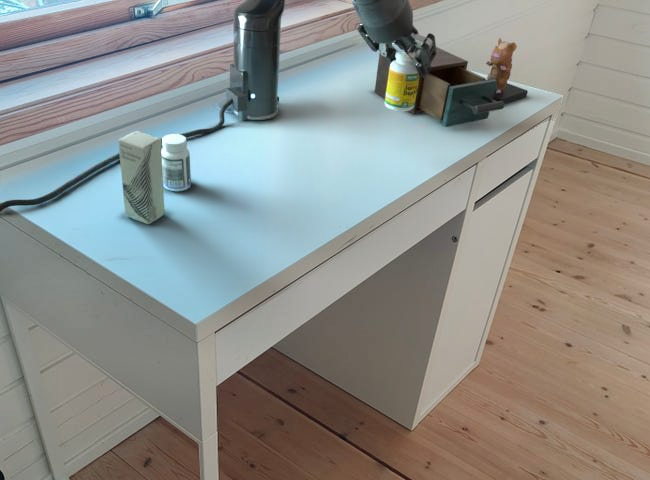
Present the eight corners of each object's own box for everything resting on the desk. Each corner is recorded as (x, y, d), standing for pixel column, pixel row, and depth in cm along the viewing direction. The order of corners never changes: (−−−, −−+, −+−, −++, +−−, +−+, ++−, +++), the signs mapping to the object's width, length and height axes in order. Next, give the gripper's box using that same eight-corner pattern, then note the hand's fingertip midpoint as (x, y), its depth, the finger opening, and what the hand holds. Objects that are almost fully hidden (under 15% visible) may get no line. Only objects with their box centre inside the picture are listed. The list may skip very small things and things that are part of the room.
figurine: (463, 92, 158) (475, 37, 150) (490, 84, 163) (503, 30, 155) (499, 106, 152) (513, 49, 144) (526, 97, 157) (541, 41, 149)
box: (124, 216, 109) (115, 138, 101) (141, 205, 112) (134, 129, 103) (150, 226, 107) (143, 147, 99) (167, 214, 110) (162, 137, 101)
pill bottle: (177, 176, 120) (174, 130, 115) (196, 185, 118) (194, 138, 113) (157, 185, 117) (153, 138, 112) (177, 194, 115) (174, 147, 110)
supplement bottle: (396, 98, 124) (405, 42, 118) (420, 107, 121) (431, 50, 115) (377, 105, 121) (386, 48, 115) (401, 114, 118) (411, 56, 112)
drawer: (506, 128, 140) (516, 89, 135) (463, 137, 136) (472, 97, 131) (447, 97, 153) (454, 60, 147) (405, 104, 148) (411, 67, 143)
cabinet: (458, 106, 151) (468, 61, 145) (412, 114, 146) (420, 68, 140) (418, 85, 161) (425, 41, 154) (374, 92, 156) (380, 48, 150)
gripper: (434, -9, 100) (458, 59, 115) (356, -28, 107) (387, 39, 121) (408, 36, 100) (435, 99, 115) (331, 15, 107) (366, 76, 122)
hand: (410, 68), depth 118 cm, fingers closed on supplement bottle, 5 cm apart
